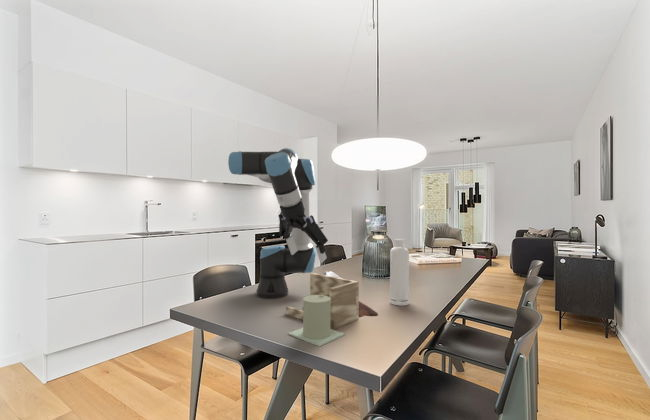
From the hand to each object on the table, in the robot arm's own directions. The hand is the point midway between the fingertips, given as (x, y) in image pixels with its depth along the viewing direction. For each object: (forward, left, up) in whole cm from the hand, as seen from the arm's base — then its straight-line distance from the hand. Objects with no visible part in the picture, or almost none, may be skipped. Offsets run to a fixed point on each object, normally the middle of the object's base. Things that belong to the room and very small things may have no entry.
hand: (308, 256), depth 112 cm
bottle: (+8, +49, -25) cm, 56 cm away
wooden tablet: (-4, +32, -26) cm, 41 cm away
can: (+6, -2, -25) cm, 25 cm away
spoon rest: (-34, +52, -26) cm, 67 cm away
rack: (-5, +13, -25) cm, 29 cm away
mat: (+6, -2, -25) cm, 26 cm away
